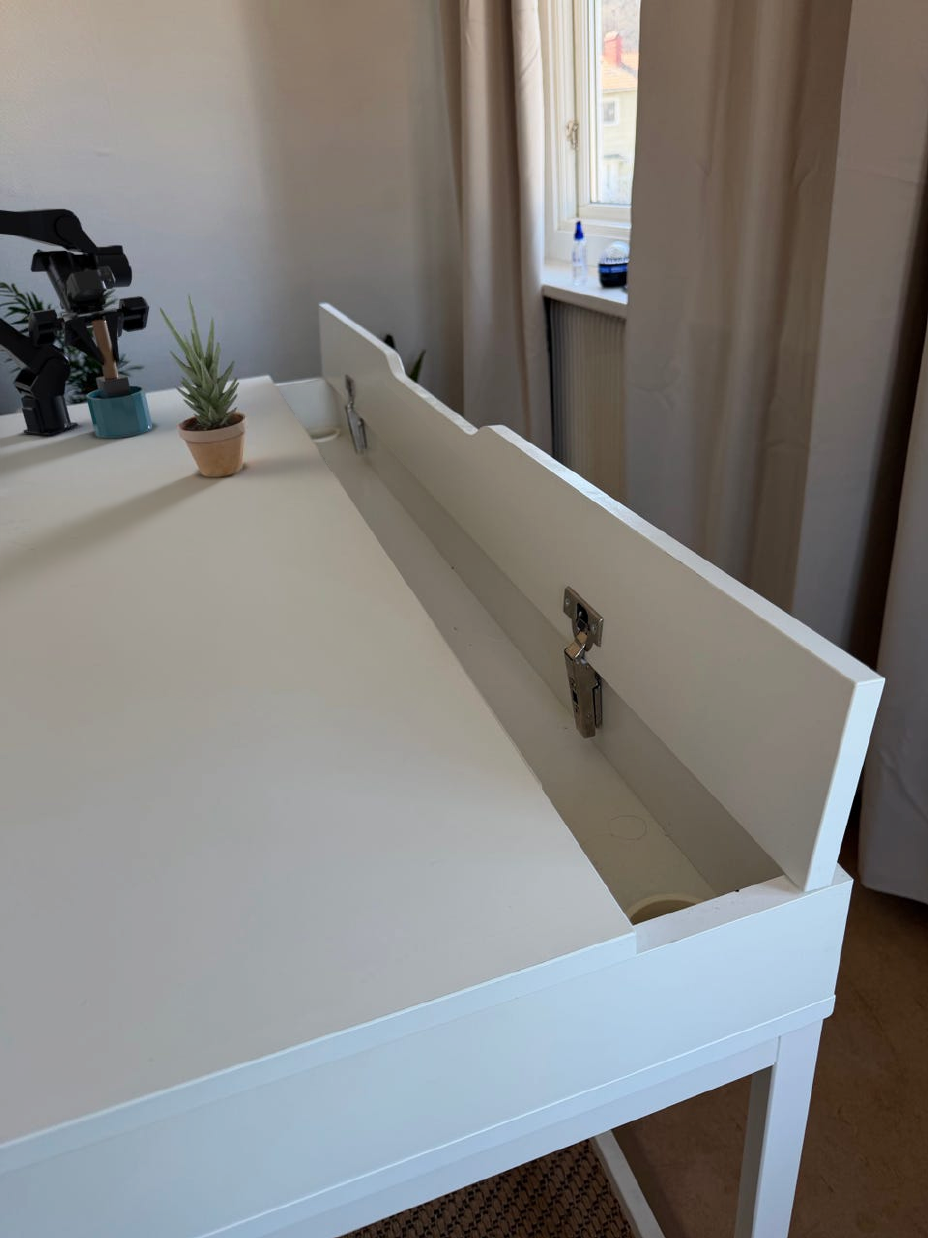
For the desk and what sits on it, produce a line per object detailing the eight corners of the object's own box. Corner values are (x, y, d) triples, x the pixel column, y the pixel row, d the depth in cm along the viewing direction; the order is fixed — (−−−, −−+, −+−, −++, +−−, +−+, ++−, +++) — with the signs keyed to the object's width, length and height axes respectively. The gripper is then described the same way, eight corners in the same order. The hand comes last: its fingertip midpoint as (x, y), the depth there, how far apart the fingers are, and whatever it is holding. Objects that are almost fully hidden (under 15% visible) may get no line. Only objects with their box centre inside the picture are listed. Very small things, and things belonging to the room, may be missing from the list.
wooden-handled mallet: (101, 402, 157) (82, 321, 151) (124, 397, 159) (106, 317, 153) (109, 406, 154) (90, 324, 148) (133, 401, 156) (115, 320, 150)
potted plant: (173, 478, 134) (135, 297, 122) (213, 458, 141) (180, 285, 130) (232, 483, 130) (198, 297, 119) (269, 462, 138) (241, 285, 127)
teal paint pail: (123, 421, 164) (114, 383, 161) (163, 424, 161) (155, 386, 158) (83, 436, 157) (74, 397, 154) (125, 440, 153) (116, 400, 150)
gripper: (13, 257, 144) (53, 340, 141) (132, 243, 154) (172, 320, 151) (13, 306, 153) (51, 385, 150) (126, 290, 163) (163, 363, 160)
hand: (110, 362), depth 152 cm, fingers closed on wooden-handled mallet, 2 cm apart
